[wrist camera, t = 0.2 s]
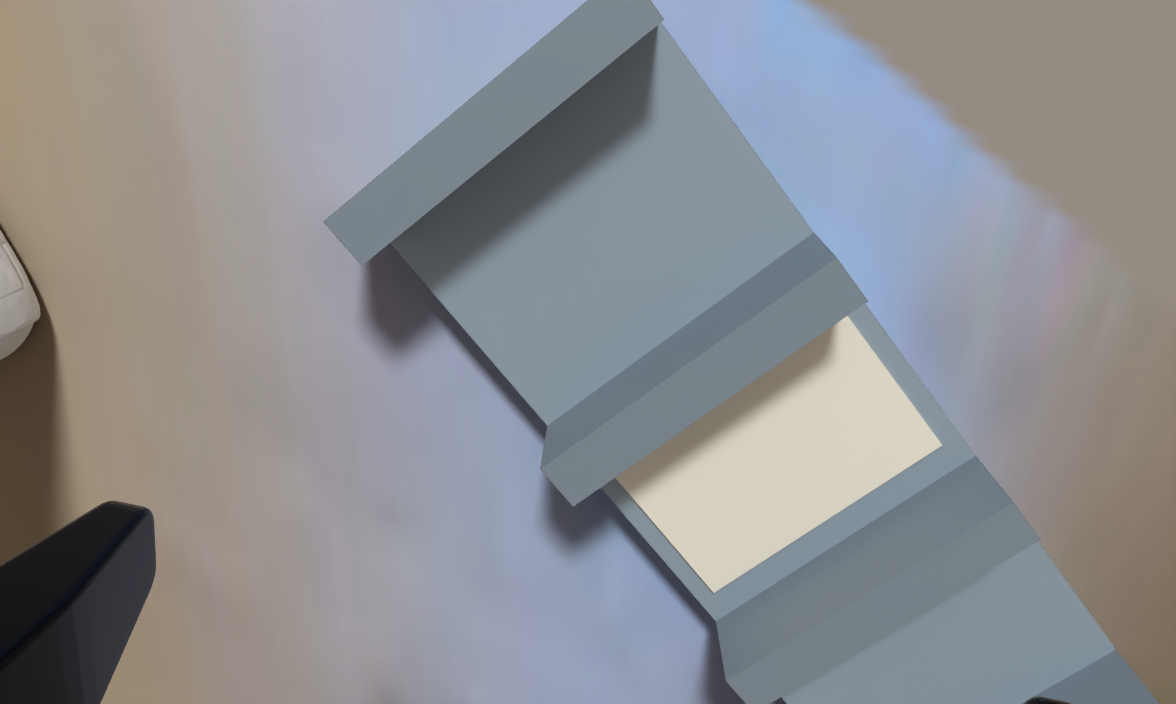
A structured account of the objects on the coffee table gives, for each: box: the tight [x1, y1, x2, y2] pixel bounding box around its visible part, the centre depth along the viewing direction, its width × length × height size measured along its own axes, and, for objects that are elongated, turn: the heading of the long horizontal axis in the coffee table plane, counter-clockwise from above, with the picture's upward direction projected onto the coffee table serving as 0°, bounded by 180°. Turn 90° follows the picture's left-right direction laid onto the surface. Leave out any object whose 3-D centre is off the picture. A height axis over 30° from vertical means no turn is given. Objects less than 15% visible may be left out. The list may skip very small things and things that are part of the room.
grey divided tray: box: [324, 0, 1159, 704], centre depth 24 cm, size 8×23×4 cm, turn 38°
